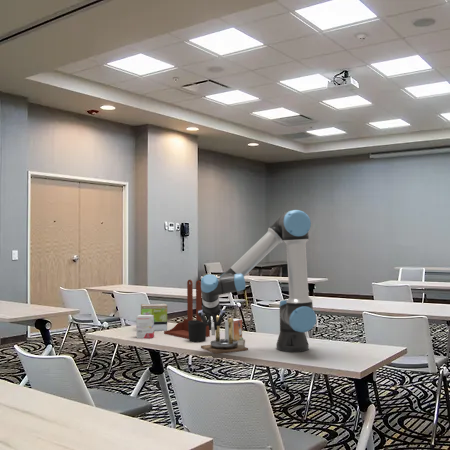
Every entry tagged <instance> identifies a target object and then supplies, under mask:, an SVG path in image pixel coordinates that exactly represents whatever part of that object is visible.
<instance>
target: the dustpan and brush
mask: <svg viewBox="0 0 450 450" xmlns="http://www.w3.org/2000/svg"><path fill="white" fill-rule="evenodd" d="M193 284H194V283H193V280H192V279H188V280H187V283H186V288H187V291H186V293H187V295H186V296H187V297H186V298H187V301H186V302H187V308H186V311H187V315H186V316H187V318H184V319H183V321H180V322H178V323H177V324H175V325H174V326H173V327H172V328H171V329H167V331H163V333H164V335H168V336H172V337H176V338H180V339H182V338H183V339H185V340H189V333H188V321H191V320H194V319H193V317H194V313H193V311H194V304H193V302H194V298H193V295H194V294H193V291H194V290H193V287H194V286H193ZM202 309H203V302H202V292H201V280H196V282H195V310H196V311H195V320H199V321H201V322H203V321H202V319H201V317H200V316H199V315H198V310H202ZM210 332H211V330H209V326H206V338H209V337H211V333H210Z"/></svg>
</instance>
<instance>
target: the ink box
mask: <svg viewBox="0 0 450 450" xmlns="http://www.w3.org/2000/svg"><path fill="white" fill-rule="evenodd" d="M135 325H136V328H135V329H136V330H135V331H136V339H153V338H154V337H155V331H154V315H141V314H138V315H136V316H135Z"/></svg>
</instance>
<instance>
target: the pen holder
mask: <svg viewBox="0 0 450 450" xmlns="http://www.w3.org/2000/svg"><path fill="white" fill-rule="evenodd" d="M188 333H189V339H188V341H189V342H191V343H202V342H205V341H206V340H207V337H206V326H205V325H204V323H203V321H202V322H201V321H199V320H196V319H193V320H191V321H188Z"/></svg>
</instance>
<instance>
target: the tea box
mask: <svg viewBox="0 0 450 450" xmlns="http://www.w3.org/2000/svg"><path fill="white" fill-rule="evenodd" d="M140 315H154V332H155V331H157V332H159V331H161V332H162V331H163V332H164V331H168V304H166V303H141V304H140Z"/></svg>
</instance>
